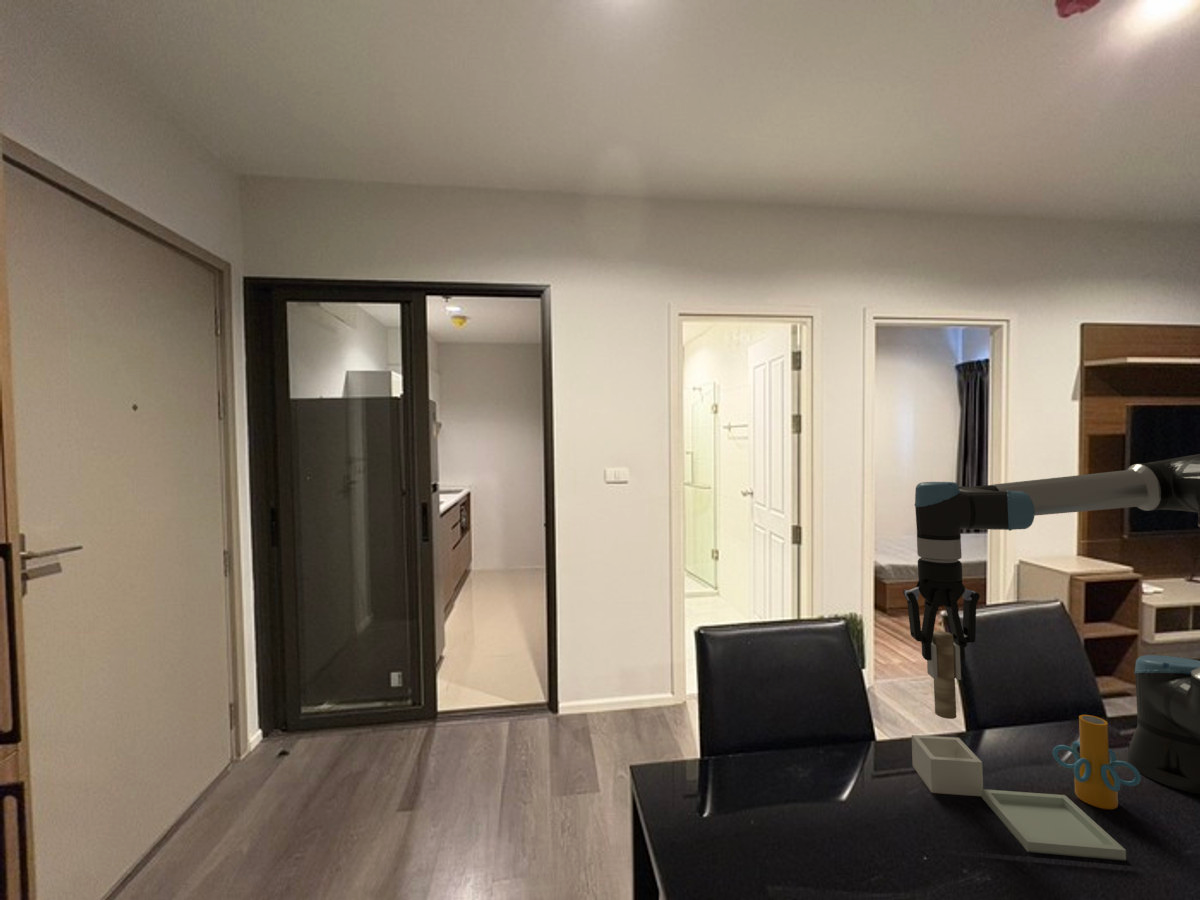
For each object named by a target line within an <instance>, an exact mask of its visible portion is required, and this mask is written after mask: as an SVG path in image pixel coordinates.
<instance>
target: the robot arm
mask: <svg viewBox="0 0 1200 900" xmlns="http://www.w3.org/2000/svg"><path fill="white" fill-rule="evenodd" d="M914 495H915V497H914V508H915V522H916V523H915V524H916V547H917V548H916V549H917V552H916V553H917V556H918V557H919V558H918V559H917V577H918V580H917V584H916V585H915V586H916V587H913V588H912V589H903V591H902V594H903V595H904V597H905V599H906V601H907V613H908V622H909V631H910V637H911V638H913V639H914V640H915V641H916V642H920V643H921V657H922V659H924V660H926V665H927V666H926V667H927V668H926V669H927V674H928V675H929V677H931V678H932V679H933V680H934V679H938V675H937V651H936V645H935V644H933V643H932V639H933V633H934V631H935V625H936V619H937V613H938V612H939V607H944V608H945V610H946V615H947V619H948V623H949V627H950V631H951V634H952V635H953V645H954V669H955V680H962V673H961V672H962V671H961V669H962V668H961V667H962V666H961V662H965V659H966V656H965V655H966V654H965V653H966V651H965V648H967V646H968V644H969V643H975V642H976V633H977V632H976V629H977V627H976V626H977V604H978V602H979V599H980V597H981V595H980V593H979V592H977V591H975V590H972V589H967V588H966V586H965V585H964V584H963V564H962V562H961V560H960V559H962V557H963V556H962V555H963V554H962V535H961V530H993V531H994V530H995V531H996V530H998V531H999V530H1000V531H1001V530H1003V531H1009V532H1010V531H1014V530H1026V529H1028V528H1030V527H1031V526H1032V524H1033V523H1034V519H1035V516H1046V515H1058V514H1069V513H1070V514H1071V513H1080V512H1089V511H1100V510H1101V511H1102V510H1112V509H1113V510H1114V509H1126V508H1134V507H1135V508H1138V509H1140V510H1142V511H1148V512H1149V511H1159V510H1163V511H1165V510H1167V511H1179V512H1180V511H1181V512H1182V511H1183V512H1191V513H1192V512H1193V513H1198V515H1197V516H1198V519H1197V526H1198V527H1199V528H1200V453H1198V454H1192V455H1186V456H1180V457H1175V458H1167V459H1164V460H1158V461H1150V462H1144V463H1135V464H1132V465H1130V466H1129V467H1128V468H1127V469H1124V470H1117V471H1114V470H1113V471H1107V472H1098V473H1088V474H1078V475H1069V476H1061V477H1059V476H1058V477H1050V478H1049V477H1048V478H1043V479H1042V478H1041V479H1032V480H1023V481H1014V482H1013V481H1012V482H1004V483H996V484H995V483H994V484H988V485H987V484H986V485H976V486H967V485H961V486H959V484H958V483H957V482H954V481H922V482H919V483H918V484H916V486H915V494H914ZM919 595H921V596H922V598H923V599H924V611H923V612H924V613H923V616H922V617H923V619H922V623H921V617H920V616H921V615H920V606H919V602H918V600H919V599H920V596H919ZM961 597H962V598H963V601H962V602H963V603H962V604H963V605H962V608H963V609H962V621H961V617H960V614H959V611H960V609H959V605H958V601H959V600H960V599H961ZM1133 672H1134V675H1135V696H1136V697H1135V698H1136V715H1137V716H1136V718H1137V724H1136V725H1137V726H1136V728H1135V730H1134V733H1133V736H1132V738H1131V740H1130V743H1129V745H1128V746H1127V747H1126V756H1127V757H1126V759H1127V761H1126V762H1127V763H1129V764H1131V765H1132V766H1134V767H1135V768H1136V769H1137V770H1138V772H1139V773H1140V775H1141V774H1142V775H1143V776H1144V777H1147V778H1149V779H1151V780H1152V781H1155V782H1158V783H1160V784H1162V785H1165V786H1166V787H1167V786H1168V787H1170V788H1173V789H1176V790H1179V791H1183V792H1186V793H1191V794H1195V795H1200V660H1198V659H1192V658H1185V657H1180V656H1171V655H1156V654H1155V655H1154V654H1149V655H1148V654H1147V655H1146V654H1145V655H1141V656H1139V657H1138V658H1137V659H1136V660H1135V667H1134V671H1133Z"/></svg>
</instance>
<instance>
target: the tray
mask: <svg viewBox="0 0 1200 900" xmlns="http://www.w3.org/2000/svg"><path fill="white" fill-rule="evenodd" d="M981 799H982V800H983V801H984V802H985V803H986V805H987V806H988V807H989V808H990V809H991V811H993V813H994V814H995V815H996V816H997V818H998V819H999V820H1000V821H1001V822H1002V823H1003V825H1004V826H1005V827H1006V829H1007V830H1008V831H1009V832H1010V833H1011V834H1012V835H1013V836H1014V837H1015V839H1016V840H1017V841H1018V842H1019V844H1020V845H1021V846H1022V847H1023V848H1024V849H1025V850H1026V852H1027V853H1037V854H1046V855H1057V856H1059V855H1060V856H1068V857H1069V856H1070V857H1081V858H1091V859H1092V858H1093V859H1103V860H1114V861H1126V862H1127V850H1126V849H1125V848H1124V847H1123V846H1122V845H1121V844H1120V843H1118V842H1117V841H1116V840H1115V839H1114V838H1113V837H1112V836H1111V835H1110V834H1109V833H1108V832H1106V831H1105V830H1104V828H1102V827H1101V826H1100V825H1099V824H1097V822H1095V821H1094V820H1093V819H1092V818H1091V817H1090V816H1089V815H1088V814H1087V813H1086V812H1084V811H1083V810H1082V809H1081V808H1080V807H1079V806H1078V805H1076V804H1075V802H1073V801H1072V800H1071V799H1070V798H1069V797H1068V796H1067V795H1066V794H1056V793H1055V794H1054V793H1039V792H1038V793H1037V792H1025V791H1012V790H1001V789H999V790H997V789H985V788H983V789H982V796H981Z"/></svg>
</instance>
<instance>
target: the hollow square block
mask: <svg viewBox="0 0 1200 900" xmlns="http://www.w3.org/2000/svg"><path fill="white" fill-rule="evenodd" d="M911 752H912V755H911V756H912V760H911V761H912V767H913V769H914V771H916V772H917V774H918V777H920V779H921V780H922V781H923V782H924V784H925V786H926V787H927V789H928V790H929V791H930V792H931V793H933V794H944V795H955V796H956V795H957V796H959V795H960V796H969V797H970V796H972V797H973V796H974V797H982V789H984V778H983V776H984V775H983V774H984V773H983V762H982V761H981V759H979V757H978V756H977V755H976V754H975V753H974V752H973V751H972V750H971V749H970V748H969V747H968V746H967V745H966V744H965V742H964V741H963V740H962V739H961V738H960V737H953V736H951V737H950V736H936V735H935V736H933V735H918V734H915V735H914V734H911Z"/></svg>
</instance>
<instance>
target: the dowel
mask: <svg viewBox="0 0 1200 900" xmlns="http://www.w3.org/2000/svg"><path fill="white" fill-rule="evenodd" d="M953 642H954V640H953V635H952V632H951V633H950V632H948V631H943V630H942V631H941V630H934V633H933V639H932V643H933V644H935V645H936V651H937V675H938V679H933V692H934V693H933V694H934V713H935V715H937V716H938V717H941V718H942V719H948V720H949V719H950V720H954V719H956V718H957V701H956V699H957V698H956V678H955V669H954V645H953Z"/></svg>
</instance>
